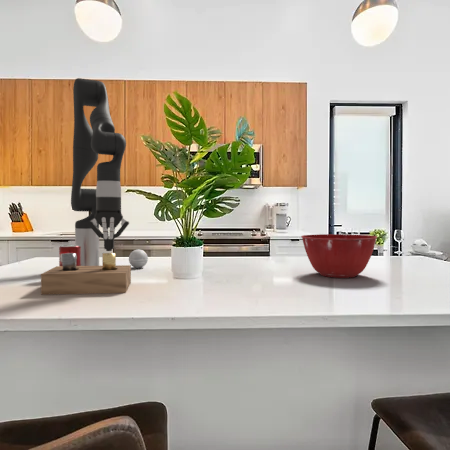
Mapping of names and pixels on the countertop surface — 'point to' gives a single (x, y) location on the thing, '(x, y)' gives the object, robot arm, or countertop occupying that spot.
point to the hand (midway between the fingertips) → (109, 250)
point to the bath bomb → (138, 258)
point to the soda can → (70, 249)
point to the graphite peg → (69, 261)
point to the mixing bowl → (339, 253)
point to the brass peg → (109, 261)
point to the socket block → (86, 280)
